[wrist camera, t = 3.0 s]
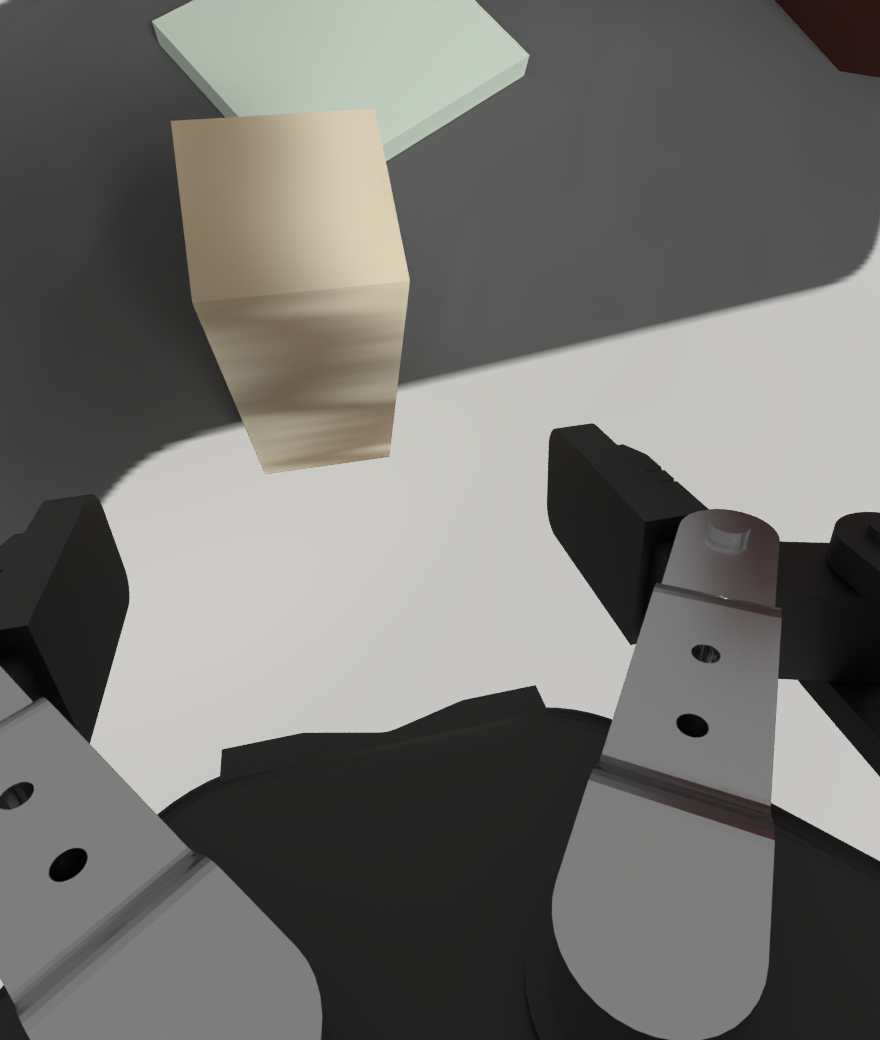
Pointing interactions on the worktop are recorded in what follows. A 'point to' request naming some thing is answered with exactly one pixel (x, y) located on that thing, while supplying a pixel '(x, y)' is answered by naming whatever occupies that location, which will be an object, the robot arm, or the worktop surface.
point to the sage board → (344, 59)
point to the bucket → (841, 31)
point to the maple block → (297, 278)
